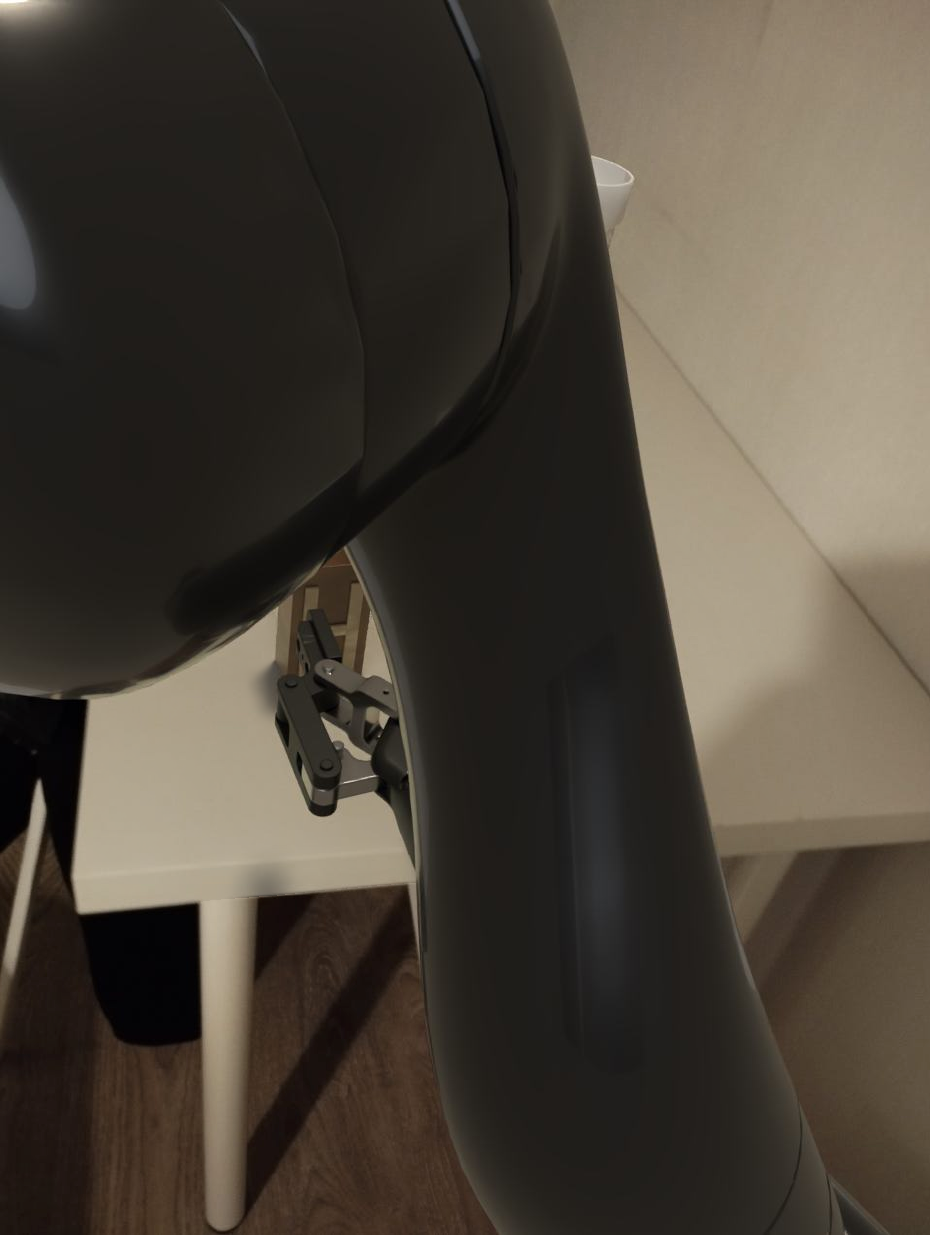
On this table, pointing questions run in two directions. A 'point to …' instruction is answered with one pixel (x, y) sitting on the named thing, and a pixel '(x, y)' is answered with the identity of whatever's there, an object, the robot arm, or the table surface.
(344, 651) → the tile
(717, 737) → the table surface
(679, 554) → the table surface
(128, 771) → the table surface
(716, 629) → the table surface
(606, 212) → the cup
